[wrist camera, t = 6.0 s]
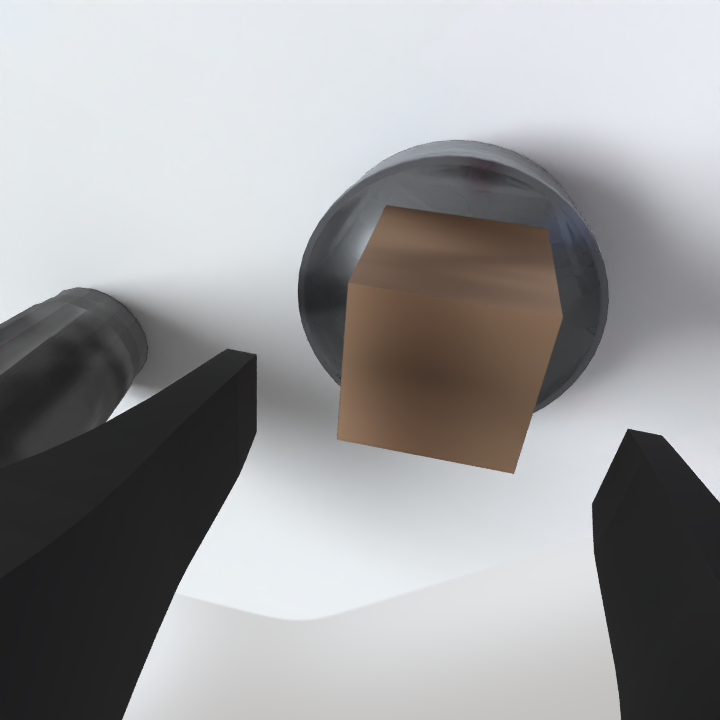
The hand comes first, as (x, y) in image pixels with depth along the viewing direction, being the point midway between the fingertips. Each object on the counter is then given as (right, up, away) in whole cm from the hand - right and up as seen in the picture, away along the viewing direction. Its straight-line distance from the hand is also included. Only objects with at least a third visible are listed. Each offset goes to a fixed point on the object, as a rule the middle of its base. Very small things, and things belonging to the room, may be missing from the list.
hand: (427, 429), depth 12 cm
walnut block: (+1, +4, +6) cm, 7 cm away
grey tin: (+2, +4, +9) cm, 10 cm away
